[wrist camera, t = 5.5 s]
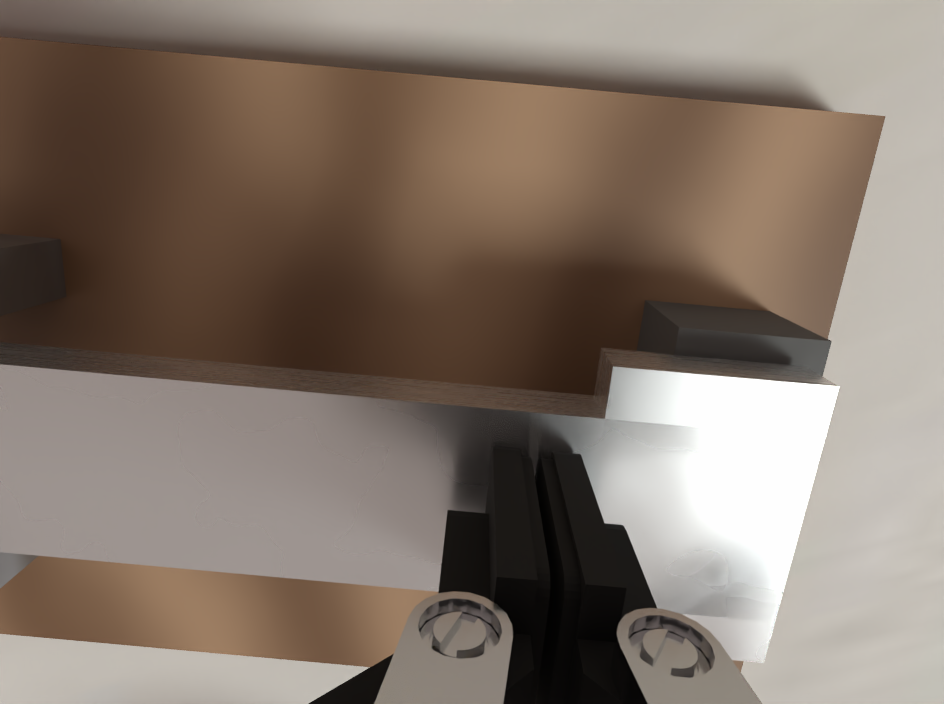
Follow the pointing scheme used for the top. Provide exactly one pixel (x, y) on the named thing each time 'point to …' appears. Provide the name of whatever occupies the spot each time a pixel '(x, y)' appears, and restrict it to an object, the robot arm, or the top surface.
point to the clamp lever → (408, 469)
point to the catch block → (729, 335)
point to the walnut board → (376, 262)
